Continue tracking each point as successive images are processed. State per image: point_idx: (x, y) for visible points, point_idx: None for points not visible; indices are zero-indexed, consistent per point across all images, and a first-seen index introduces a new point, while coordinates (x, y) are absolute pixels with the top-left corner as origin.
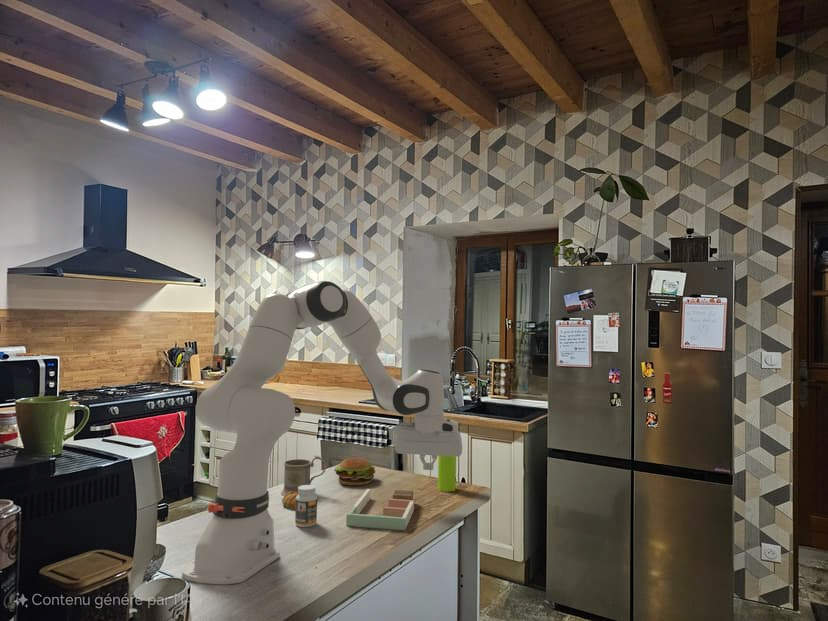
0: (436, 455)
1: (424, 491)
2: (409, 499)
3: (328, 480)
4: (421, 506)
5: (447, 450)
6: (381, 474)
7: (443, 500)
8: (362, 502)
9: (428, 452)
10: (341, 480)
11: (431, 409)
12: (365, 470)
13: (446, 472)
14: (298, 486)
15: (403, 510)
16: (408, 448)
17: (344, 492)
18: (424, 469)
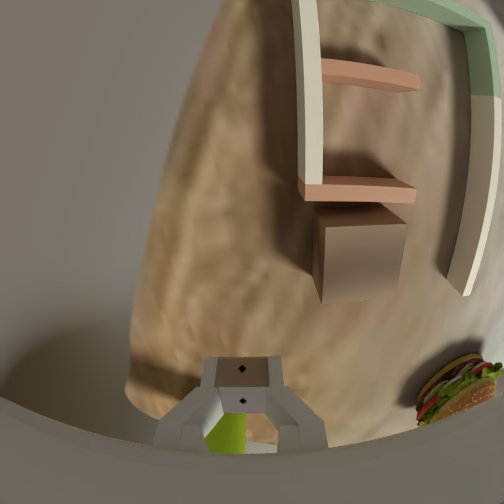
0: (153, 448)
1: (283, 379)
2: (329, 221)
3: (492, 361)
4: (274, 247)
5: (34, 455)
6: (388, 429)
7: (205, 324)
8: (482, 178)
9: (226, 476)
10: (483, 360)
11: None
12: (450, 398)
13: (211, 434)
14: None
15: (331, 61)
16: (457, 461)
17: (489, 307)
18: (271, 356)
